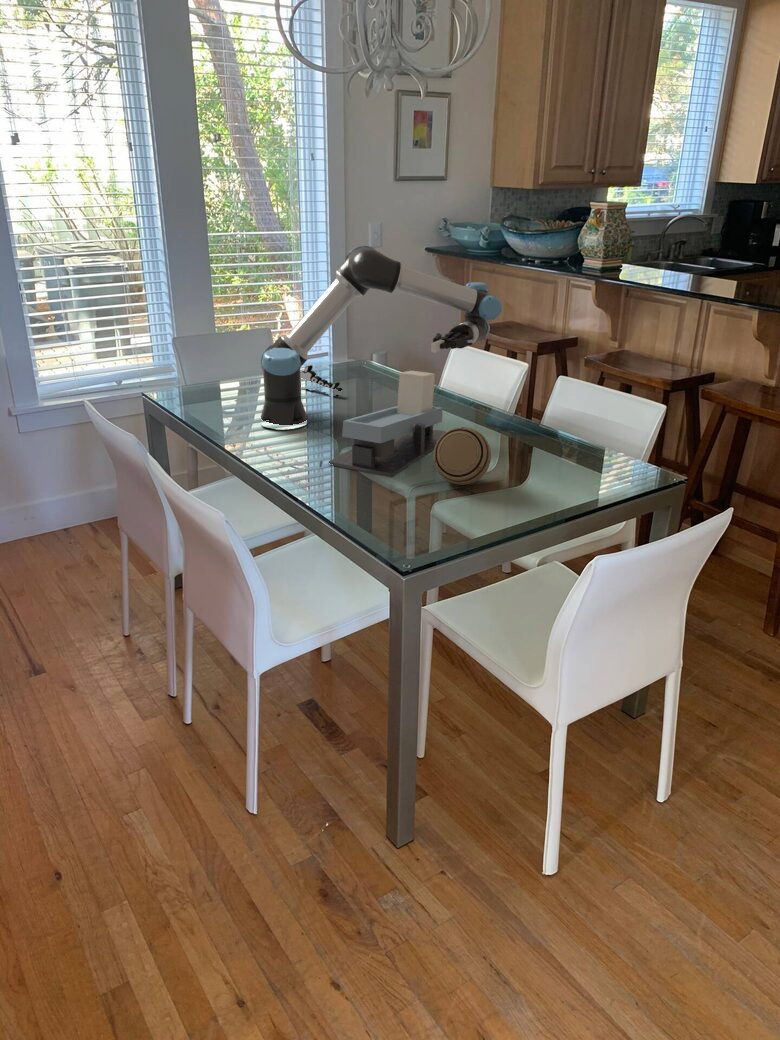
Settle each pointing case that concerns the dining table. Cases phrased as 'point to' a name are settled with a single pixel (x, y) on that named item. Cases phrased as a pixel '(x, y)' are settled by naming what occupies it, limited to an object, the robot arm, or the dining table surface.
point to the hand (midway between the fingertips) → (433, 348)
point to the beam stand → (404, 454)
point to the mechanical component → (462, 455)
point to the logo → (317, 379)
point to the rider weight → (415, 392)
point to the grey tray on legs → (386, 427)
